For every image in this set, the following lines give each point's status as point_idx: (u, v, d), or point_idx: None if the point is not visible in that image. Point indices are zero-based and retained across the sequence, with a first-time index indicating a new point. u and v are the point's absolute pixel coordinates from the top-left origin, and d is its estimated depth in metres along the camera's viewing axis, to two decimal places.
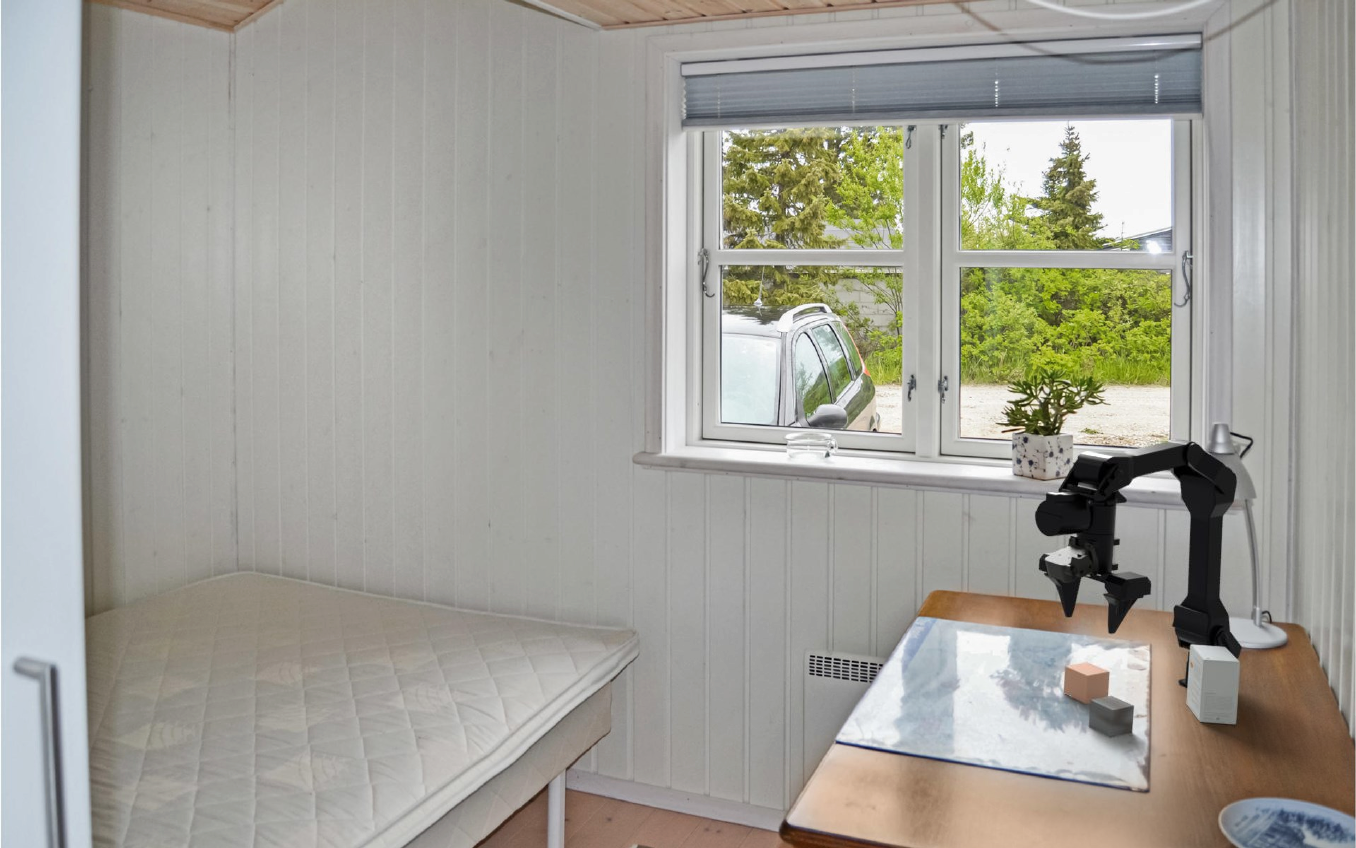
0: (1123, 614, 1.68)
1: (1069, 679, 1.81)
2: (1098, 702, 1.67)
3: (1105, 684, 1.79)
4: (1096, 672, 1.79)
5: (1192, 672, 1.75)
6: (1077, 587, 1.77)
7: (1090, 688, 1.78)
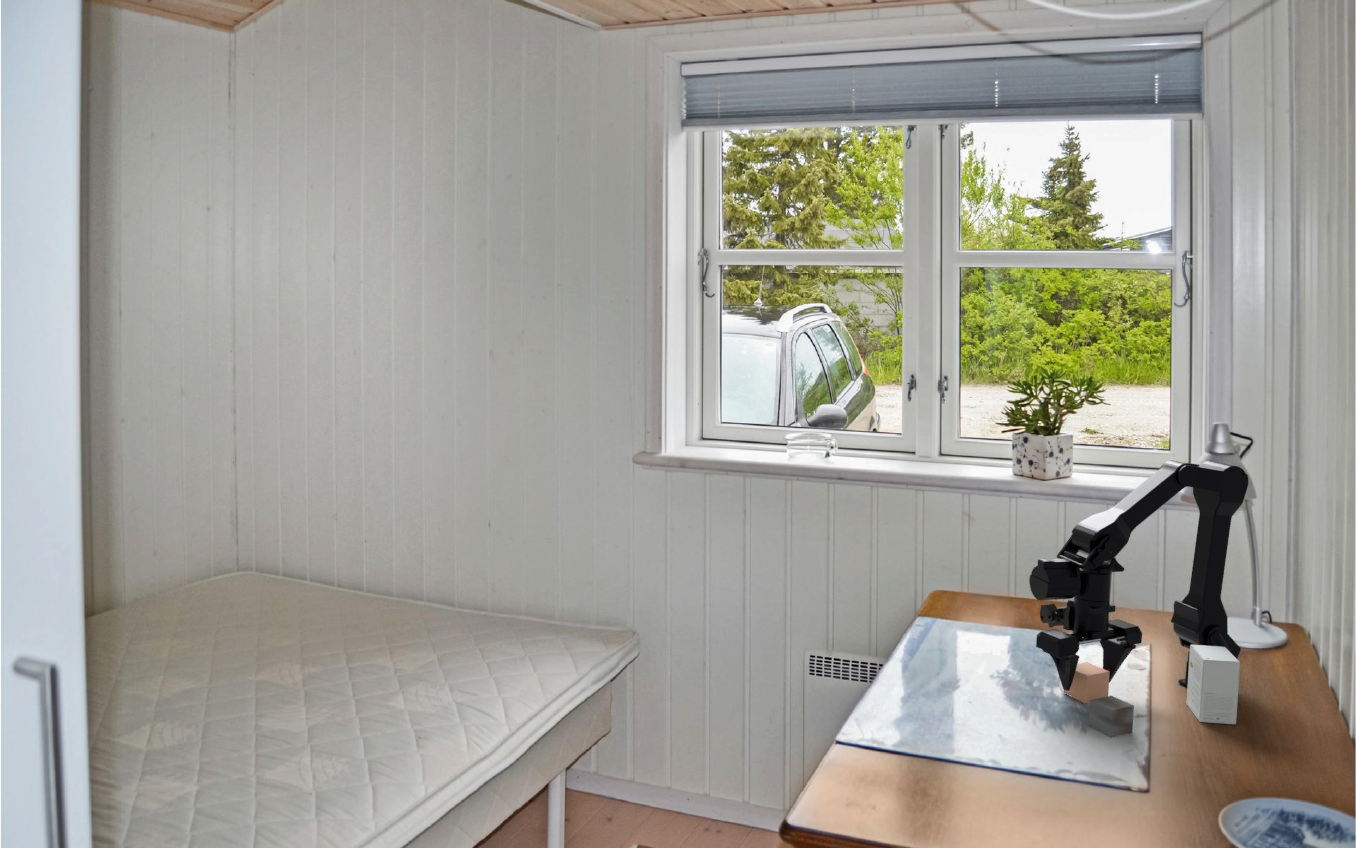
0: (1066, 673, 1.77)
1: None
2: (1098, 702, 1.67)
3: (1105, 684, 1.79)
4: (1096, 672, 1.79)
5: (1192, 672, 1.75)
6: (1117, 658, 1.81)
7: (1090, 688, 1.78)
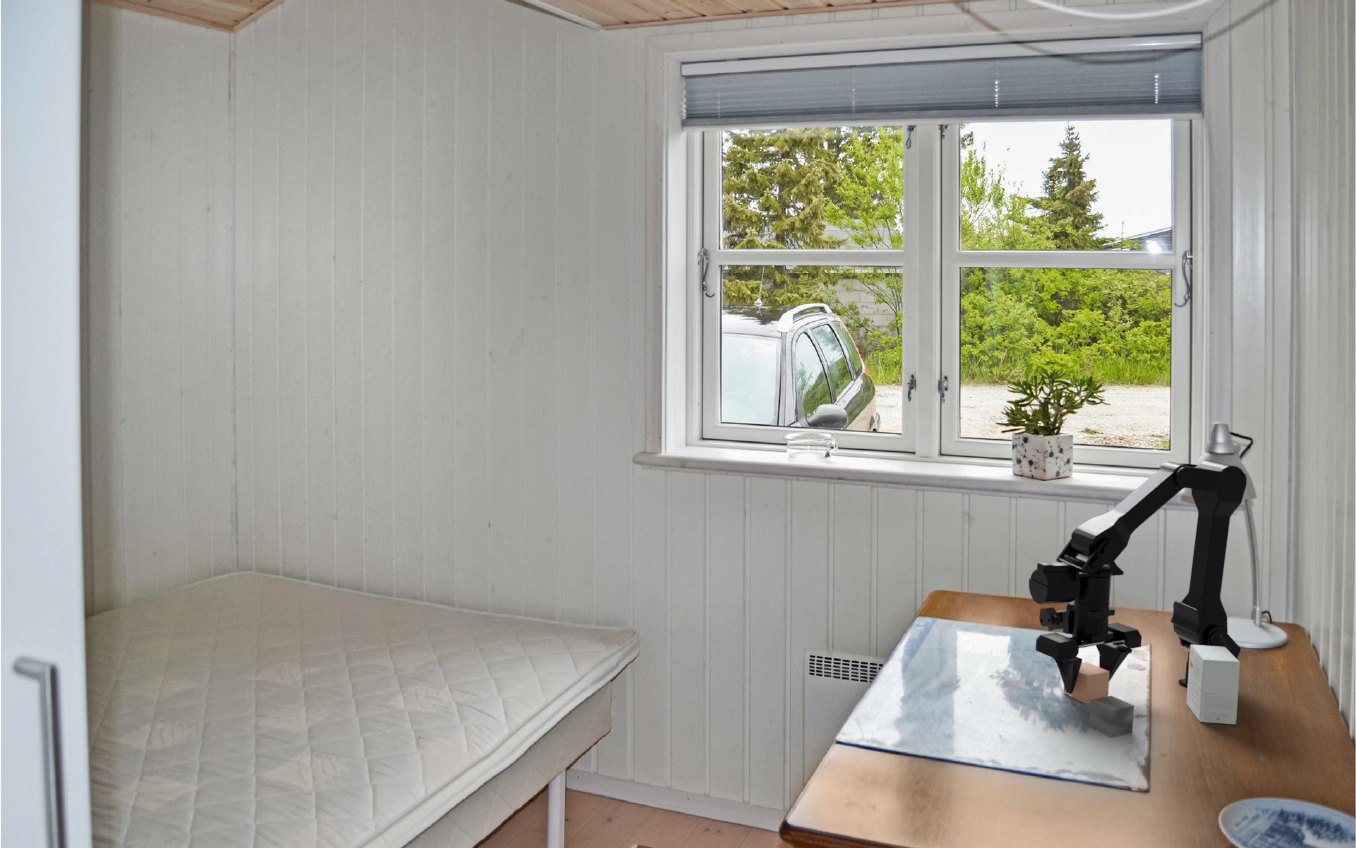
0: (1069, 676, 1.78)
1: None
2: (1099, 702, 1.67)
3: (1105, 684, 1.79)
4: (1096, 672, 1.79)
5: (1192, 672, 1.75)
6: (1114, 662, 1.81)
7: (1090, 688, 1.78)
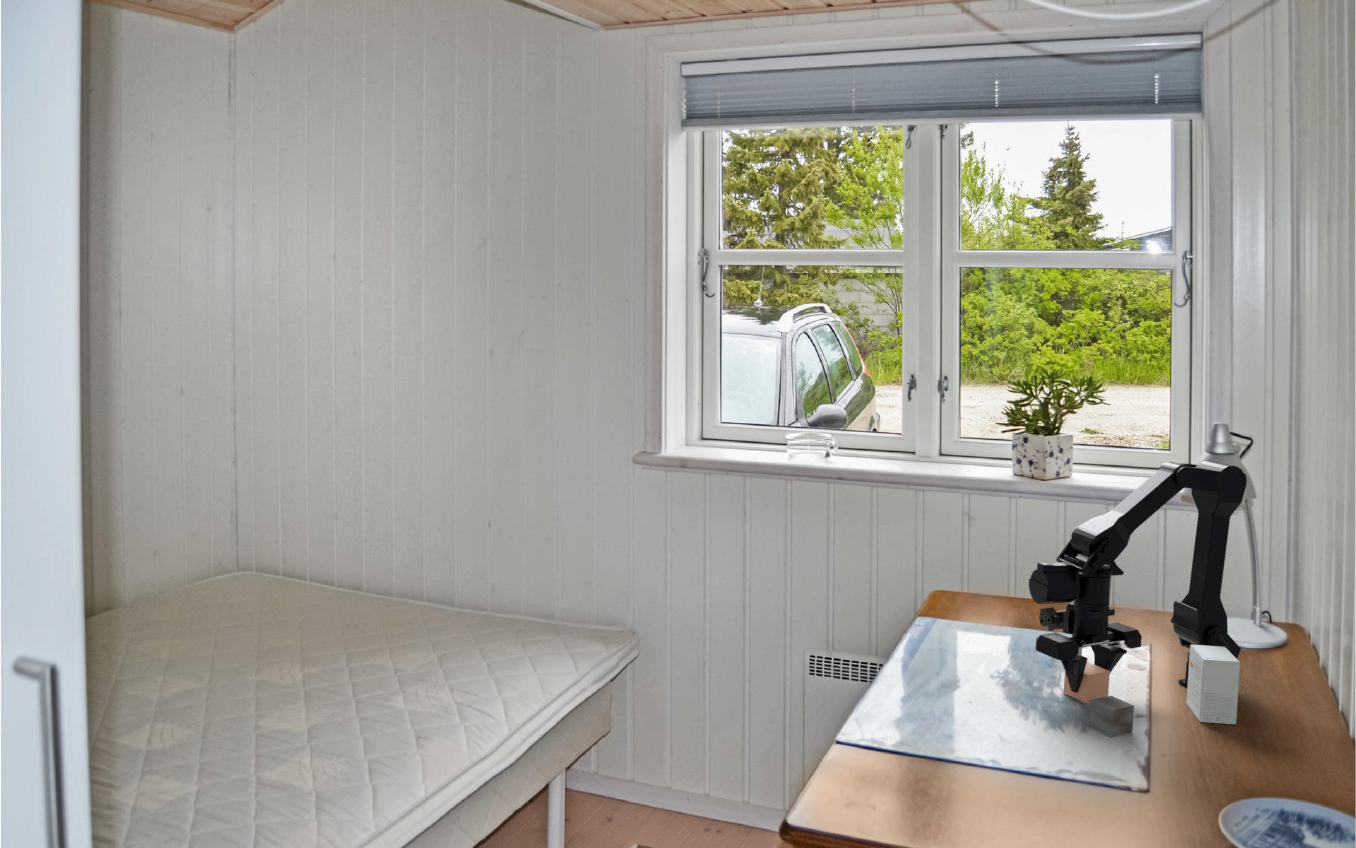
0: (1074, 675, 1.78)
1: None
2: (1098, 702, 1.67)
3: (1105, 683, 1.79)
4: (1096, 672, 1.79)
5: (1192, 672, 1.75)
6: (1109, 663, 1.80)
7: (1090, 687, 1.78)
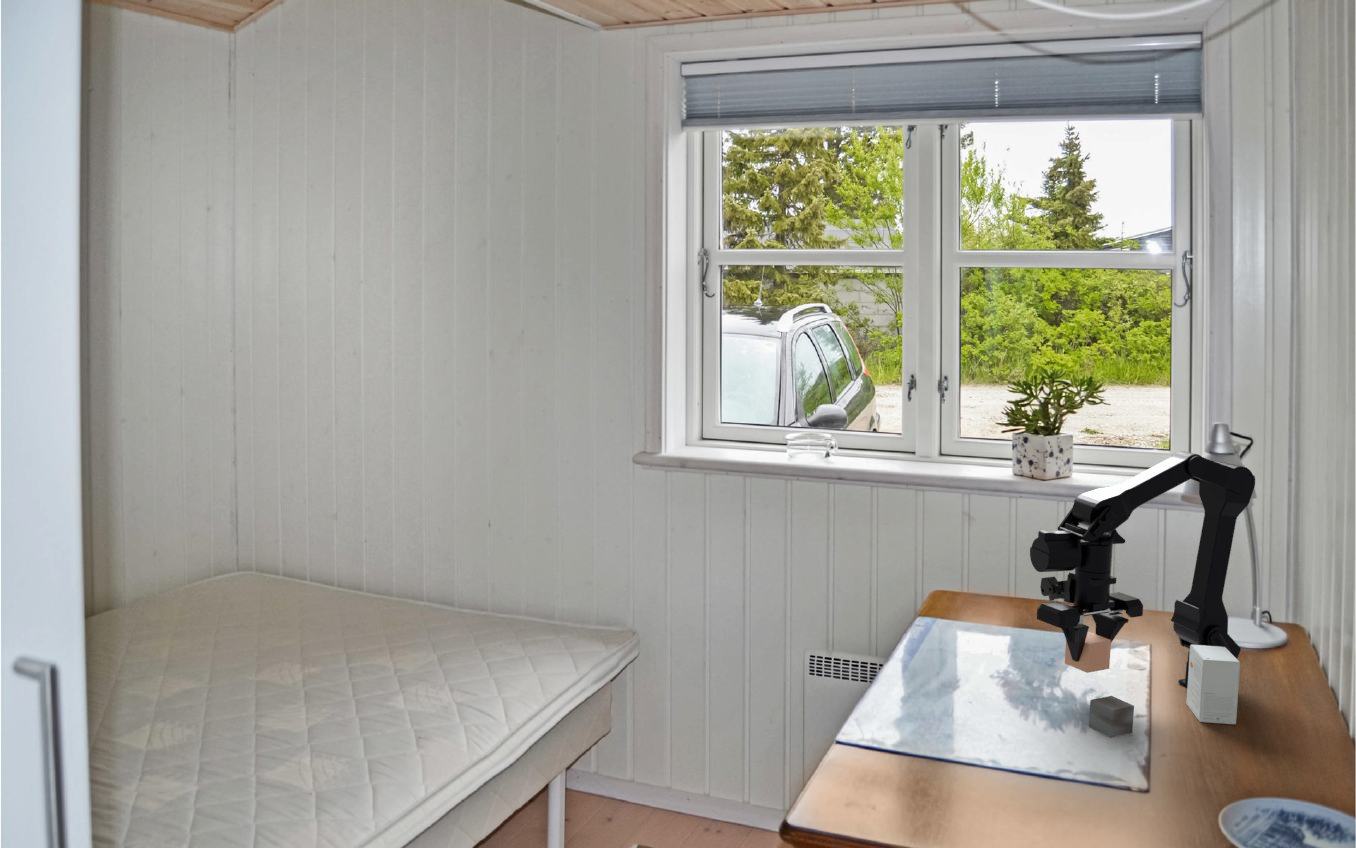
0: (1075, 644, 1.78)
1: None
2: (1099, 702, 1.67)
3: (1106, 653, 1.79)
4: (1097, 641, 1.78)
5: (1192, 672, 1.75)
6: (1110, 632, 1.79)
7: (1091, 656, 1.77)
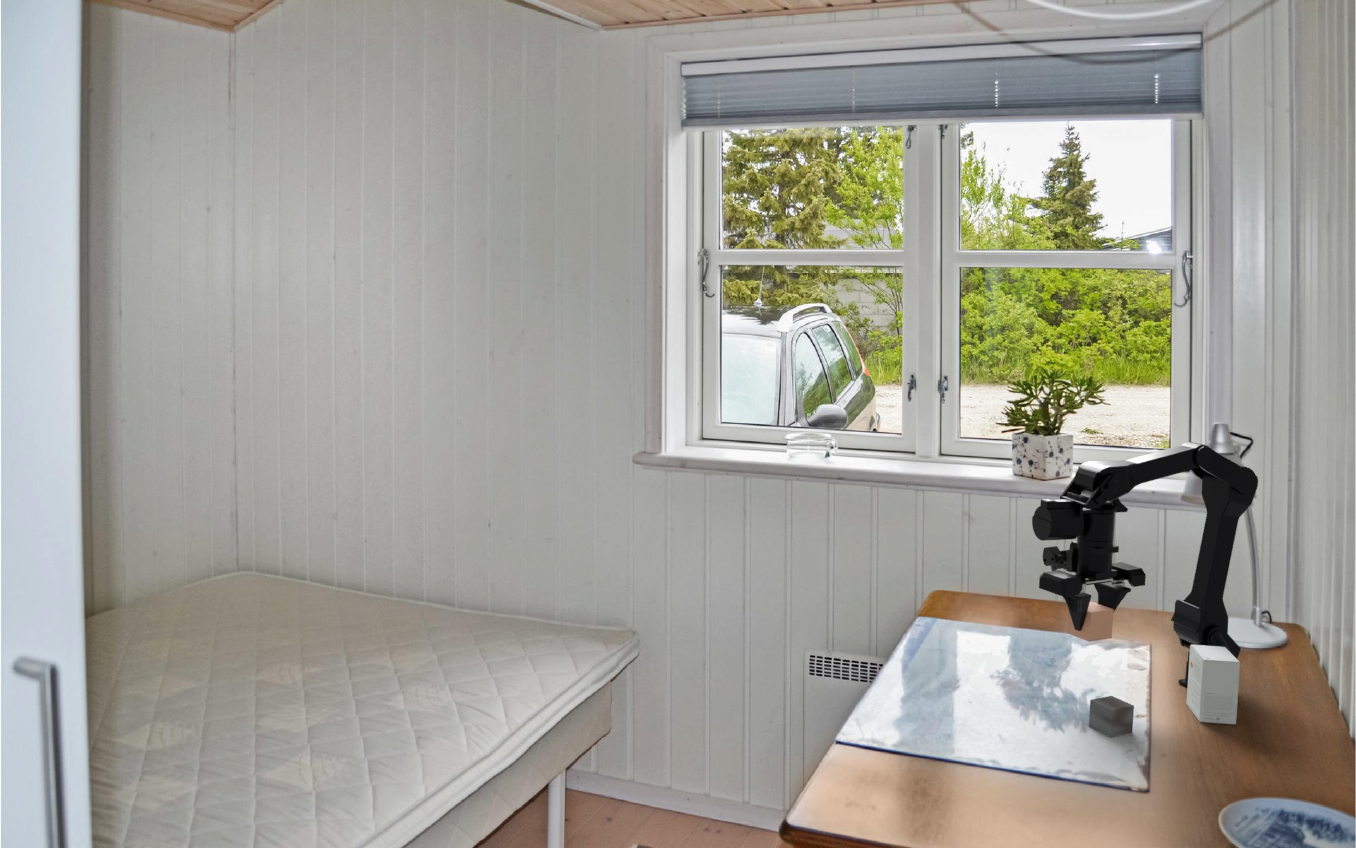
0: (1078, 613, 1.77)
1: None
2: (1098, 702, 1.67)
3: (1109, 622, 1.78)
4: (1100, 610, 1.77)
5: (1192, 672, 1.75)
6: (1112, 601, 1.79)
7: (1094, 625, 1.77)
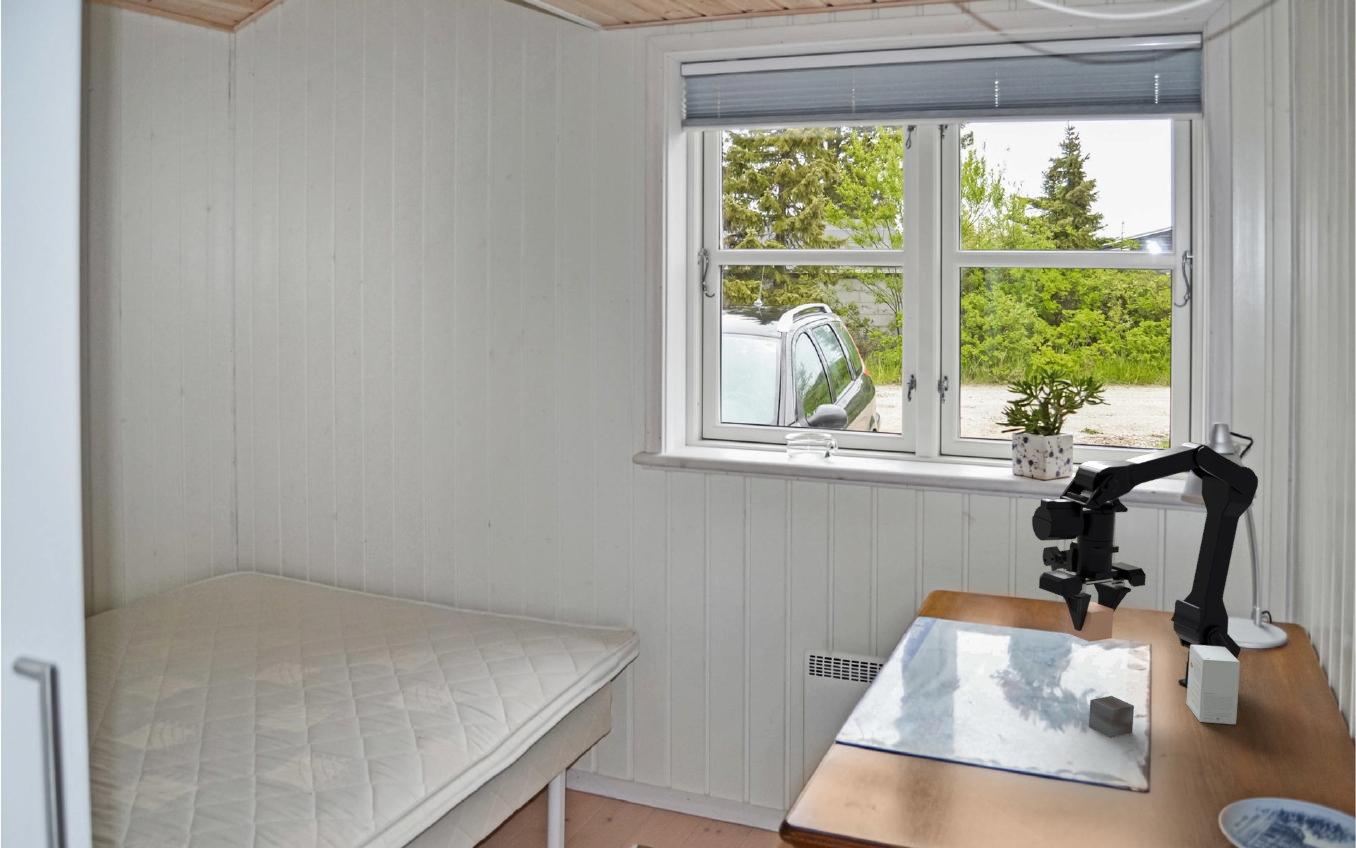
0: (1078, 613, 1.77)
1: None
2: (1098, 702, 1.67)
3: (1109, 622, 1.78)
4: (1100, 610, 1.77)
5: (1192, 672, 1.75)
6: (1112, 601, 1.79)
7: (1094, 625, 1.77)
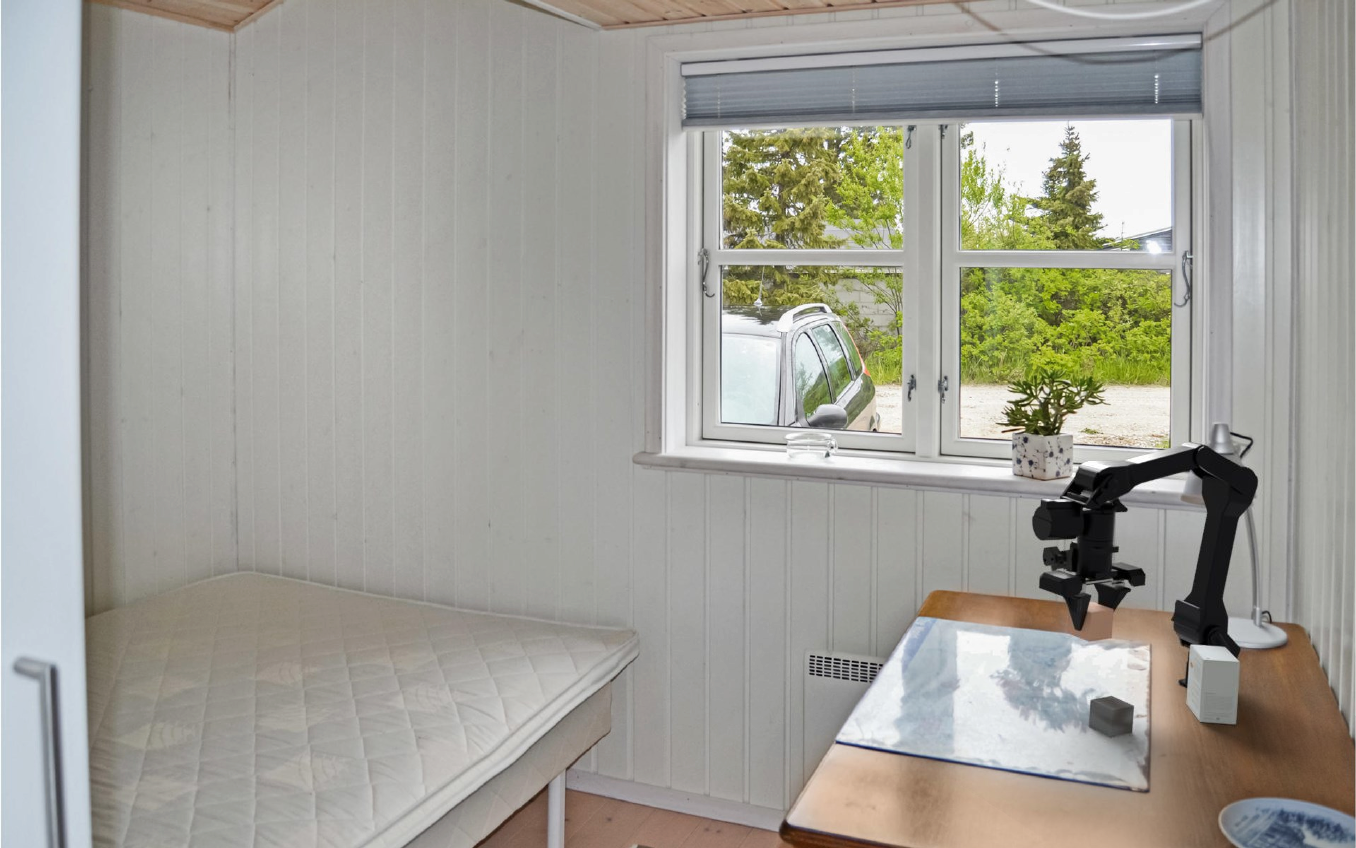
0: (1078, 613, 1.77)
1: None
2: (1099, 702, 1.67)
3: (1109, 622, 1.78)
4: (1100, 610, 1.77)
5: (1192, 672, 1.75)
6: (1112, 601, 1.79)
7: (1094, 625, 1.77)
